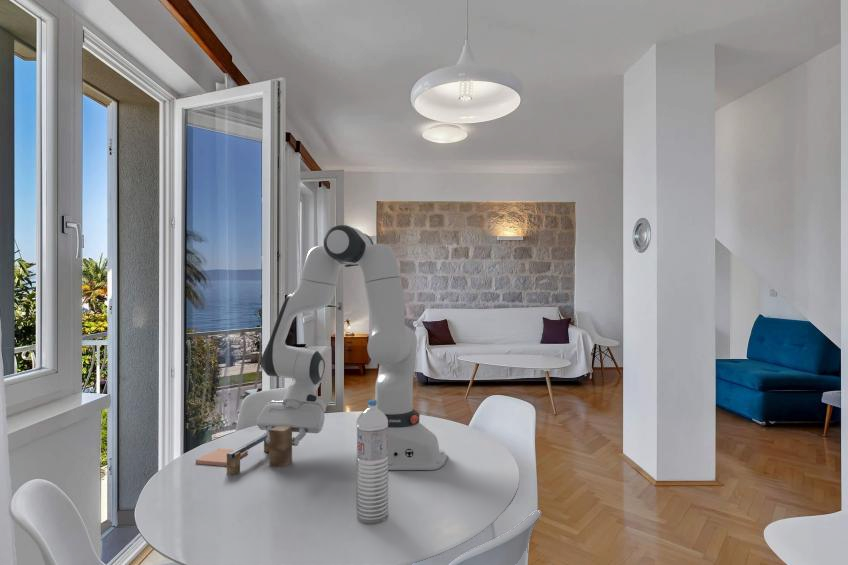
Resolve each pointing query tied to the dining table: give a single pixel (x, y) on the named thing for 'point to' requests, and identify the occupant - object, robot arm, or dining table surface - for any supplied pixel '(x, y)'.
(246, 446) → the metal bar
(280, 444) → the walnut block
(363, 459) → the water bottle
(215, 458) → the coaster
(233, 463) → the hurdle posts
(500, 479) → the dining table surface
